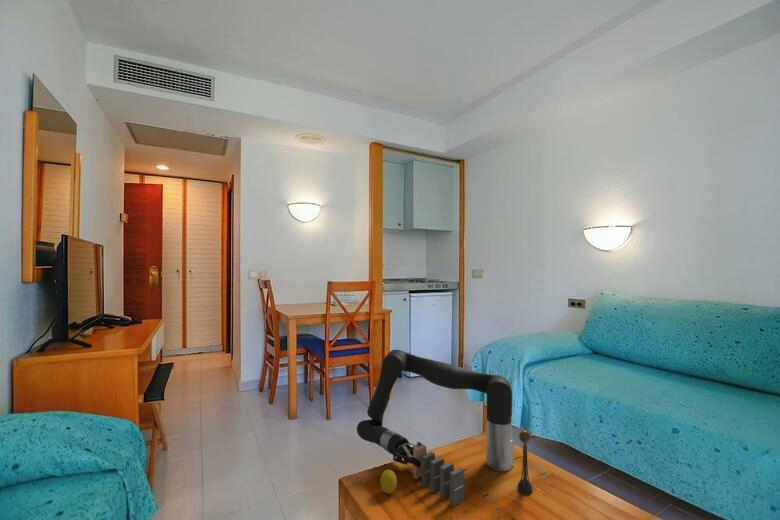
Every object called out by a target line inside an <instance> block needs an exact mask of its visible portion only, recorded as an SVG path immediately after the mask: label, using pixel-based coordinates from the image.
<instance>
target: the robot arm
mask: <svg viewBox="0 0 780 520" xmlns="http://www.w3.org/2000/svg"><path fill="white" fill-rule="evenodd" d="M403 372H406V373H407V372H408V373H412V374H415V375H418V376H419V377H422V378H423V379H425V380H427V381H428V382H430V383H431V384H433V385H436V386H439V387H443V388H446V389H449V390H473V391H478V392H481V393H483V394H485V395H486V411H485V412H486V414H485V415H486V424H485V425H486V452H485V453H486V466H488V467H489V468H490V469H492V470H494V471H498V472H508V471H510V470H511V469H512V467H514V463H515V462H514V440H513V439H512V416H513V391H512V387H511V383H510V382H509V380H508V379H507V378H506V377H504V376H502V375H499V374H492V373H484V372H478V371H476V370H475V371H474V370H472V369H468V368H465V367H461V366H458V365H455V364H450V363H446V362H444V361H443V362H442V361H438V360H435V359H429V358H425V357H421V356H418V355H414V354H411V353H409V352H407V351H403V350H400V349H391V350H390V351H389V352H388V353H387V354H386V355H385V356H384V357H383V360H382V364H381V370H380V375H379V378H378V382H377V385H376V388H375V390H374V392H373V395H372V398H371V401H370V402H369V405H368V408H367V415H368V417H369V419H364V420H360V421H359V422H358V423H357V426H356V433H357V435H358V436H359V438H360V439H362V440H364V441H366V442H370V443H373V444H376V445H377V446H379V447H381V448H382V449H383V450H384V451H386V452H388V454H390V455H392V461H394V462H396V463H399V464H402V465H405V466H406V465H408V464H409V465H410V464H411V465H412V466H413V465H415V466H417V467H420V466H421V461H420V460H418V459H416V458H414V457H413V449H414V448H416V447H419V446H421V445H423V443H421V441H417V442H416V444H413V443H410V442H409V440H408V439H407V438H406V436H403V435H402V434H399V433H398V432H396V431H393V430H390V429H388V427H385V426H383V422H384V415H385V412H386V409H387V407H388V404H389V402H390V401H389V400H390V397H391V392H392V389H393V387H394V385H395V383H396V381H397V380H398V378H399V376H400V375H401V374H402V373H403ZM370 418H371V419H370ZM426 454H428V453H427V452H426Z"/></svg>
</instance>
